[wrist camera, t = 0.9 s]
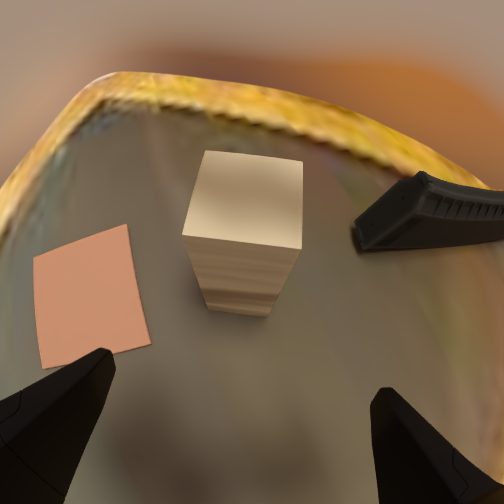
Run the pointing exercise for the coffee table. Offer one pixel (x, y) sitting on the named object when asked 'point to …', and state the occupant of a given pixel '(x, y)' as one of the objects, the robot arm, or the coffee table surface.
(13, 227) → the coffee table surface
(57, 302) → the terracotta mat
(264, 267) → the birch block
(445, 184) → the black flat curved piece
